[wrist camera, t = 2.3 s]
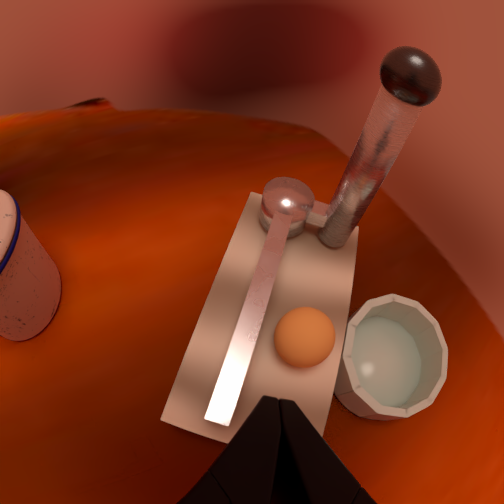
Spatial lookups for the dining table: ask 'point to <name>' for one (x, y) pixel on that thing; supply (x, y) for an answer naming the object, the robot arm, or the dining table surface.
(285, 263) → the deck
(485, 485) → the dining table surface
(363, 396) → the small white bowl
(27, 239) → the teacup with lid
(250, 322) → the lever
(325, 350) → the ball
